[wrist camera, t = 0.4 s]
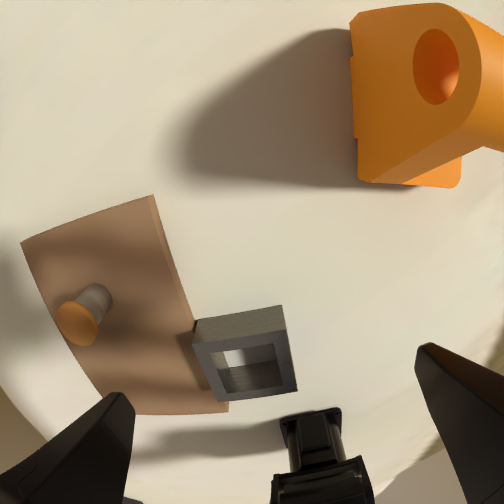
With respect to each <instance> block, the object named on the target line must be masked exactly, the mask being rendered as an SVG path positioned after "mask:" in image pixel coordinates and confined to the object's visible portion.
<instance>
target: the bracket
mask: <svg viewBox="0 0 504 504" xmlns="http://www.w3.org/2000/svg"><path fill="white" fill-rule="evenodd" d="M349 24H350V32H351V40H352V49H353V56H352V57H351V58H350V71H351V85H352V103H353V138H358V169H357V179H360V180H363V181H366V182H370V183H389V184H405V185H418V186H430V187H440V188H454V187H455V186H456V185H457V184H458V183H459V180H460V177H461V158H462V156H463V155H465V154H467V153H469V152H471V151H474V150H476V149H478V148H480V147H482V146H484V147H487V148H491V149H494V150H497V151H501V152H504V36H503V35H501V34H500V33H498V32H497V31H495V30H493V29H492V28H490V27H488V26H487V25H485V24H483V23H482V22H480V21H478V20H476V19H474V18H473V17H471V16H469V15H467V14H465V13H463V12H461V11H459V10H457V9H455V8H453V7H451V6H449V5H446V4H442V3H423V4H411V5H402V6H394V7H387V8H381V9H375V10H369V11H364V12H359V13H358V14H357V15H356V16H355V17H354V18H353V20H352V21H351V22H350V23H349Z"/></svg>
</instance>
